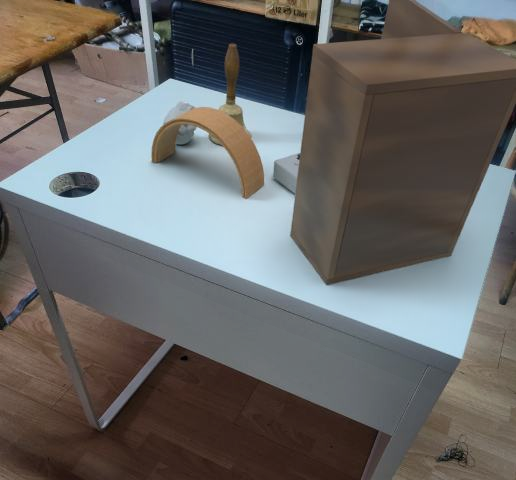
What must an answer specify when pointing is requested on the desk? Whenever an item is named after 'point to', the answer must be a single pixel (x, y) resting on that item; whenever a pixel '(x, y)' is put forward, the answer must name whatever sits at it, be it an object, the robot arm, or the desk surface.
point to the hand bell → (231, 89)
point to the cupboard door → (413, 21)
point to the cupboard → (396, 149)
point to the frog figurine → (185, 130)
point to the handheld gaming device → (287, 171)
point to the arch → (223, 132)
